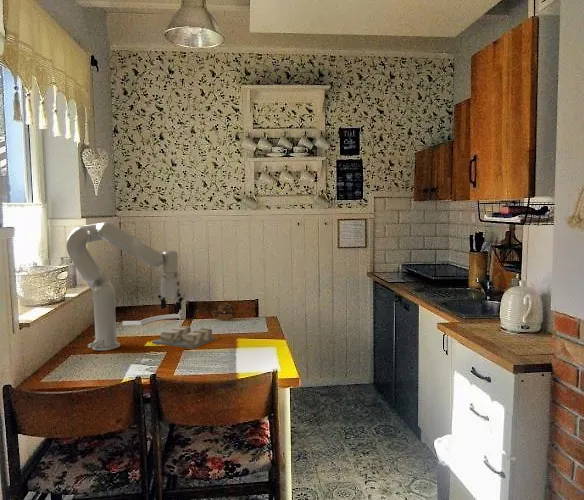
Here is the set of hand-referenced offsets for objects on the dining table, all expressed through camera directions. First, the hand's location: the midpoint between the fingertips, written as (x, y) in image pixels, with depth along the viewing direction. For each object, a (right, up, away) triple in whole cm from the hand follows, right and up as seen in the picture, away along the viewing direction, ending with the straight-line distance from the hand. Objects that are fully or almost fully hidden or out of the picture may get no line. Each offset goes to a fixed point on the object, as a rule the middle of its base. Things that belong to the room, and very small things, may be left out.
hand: (171, 309), depth 251 cm
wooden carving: (+21, -12, +46) cm, 52 cm away
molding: (-22, -13, +51) cm, 57 cm away
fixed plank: (+14, -16, -5) cm, 22 cm away
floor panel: (+7, -16, -2) cm, 17 cm away
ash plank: (+3, -15, 0) cm, 15 cm away
